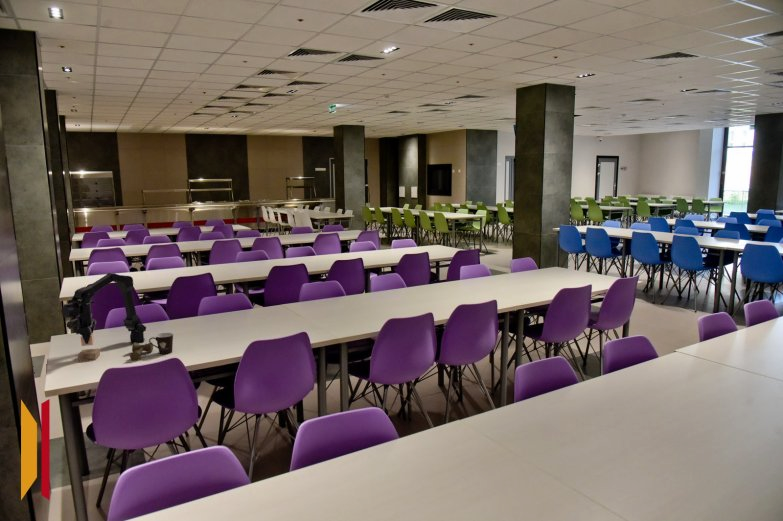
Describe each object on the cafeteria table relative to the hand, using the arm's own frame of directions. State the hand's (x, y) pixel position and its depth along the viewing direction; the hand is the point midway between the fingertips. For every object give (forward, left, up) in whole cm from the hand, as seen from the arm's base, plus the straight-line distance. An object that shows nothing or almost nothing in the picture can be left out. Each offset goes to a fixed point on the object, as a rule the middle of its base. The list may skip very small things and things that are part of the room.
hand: (87, 342), depth 274 cm
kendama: (-25, +4, -9) cm, 27 cm away
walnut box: (0, 0, -9) cm, 9 cm away
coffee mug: (-36, +4, -9) cm, 37 cm away
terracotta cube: (0, 0, -1) cm, 1 cm away
